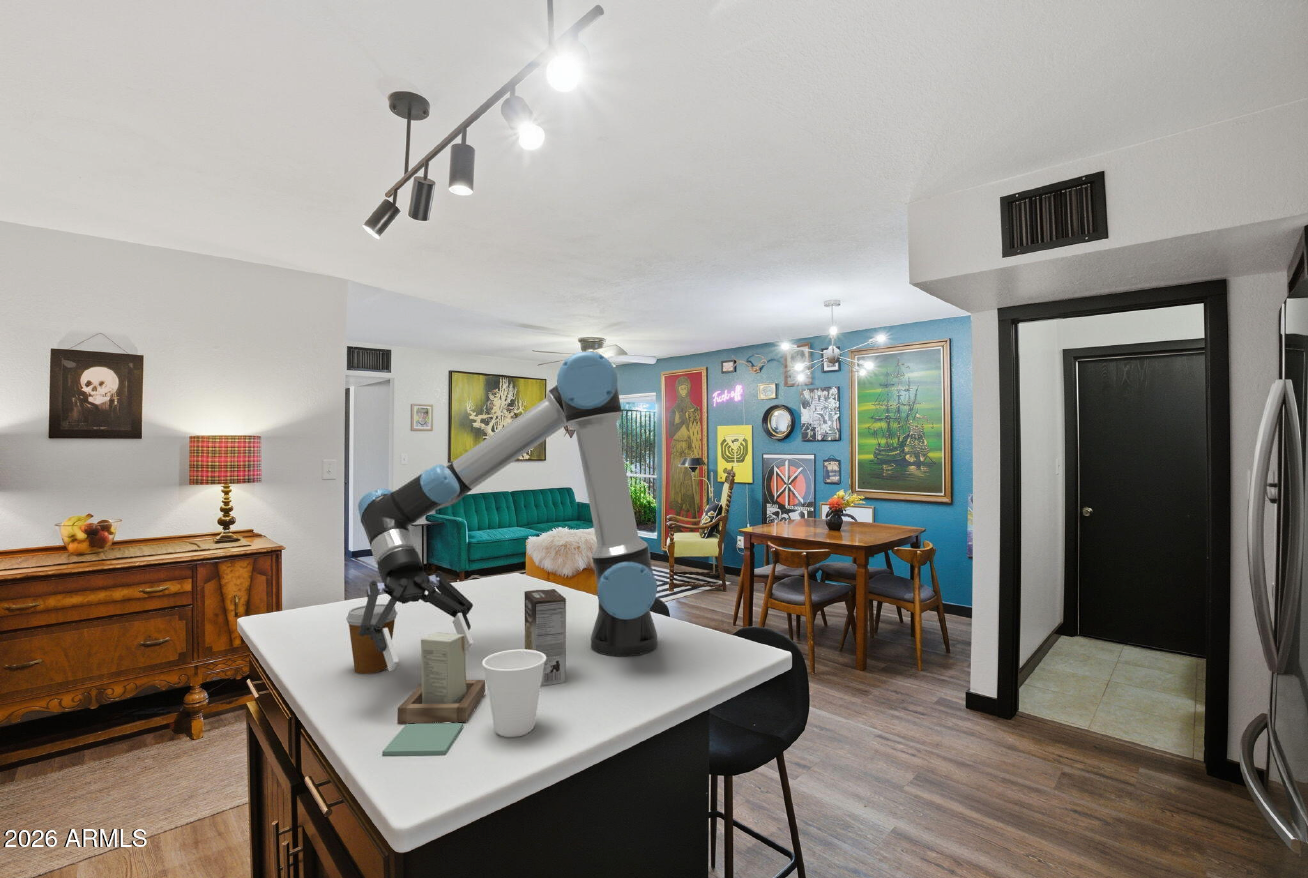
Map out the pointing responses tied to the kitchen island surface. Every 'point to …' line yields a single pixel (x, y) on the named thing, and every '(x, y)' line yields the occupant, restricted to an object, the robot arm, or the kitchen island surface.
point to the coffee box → (547, 631)
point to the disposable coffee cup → (368, 640)
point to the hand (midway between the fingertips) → (433, 656)
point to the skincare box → (443, 668)
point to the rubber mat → (423, 739)
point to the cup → (514, 689)
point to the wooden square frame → (441, 706)
